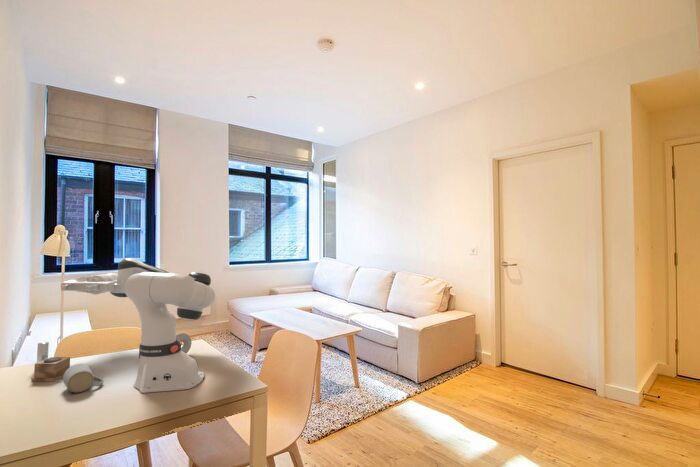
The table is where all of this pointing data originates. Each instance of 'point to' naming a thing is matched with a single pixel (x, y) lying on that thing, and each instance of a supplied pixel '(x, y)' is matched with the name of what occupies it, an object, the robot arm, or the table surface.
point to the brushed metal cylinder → (42, 351)
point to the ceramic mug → (80, 378)
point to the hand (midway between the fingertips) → (75, 288)
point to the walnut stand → (51, 369)
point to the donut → (184, 342)
